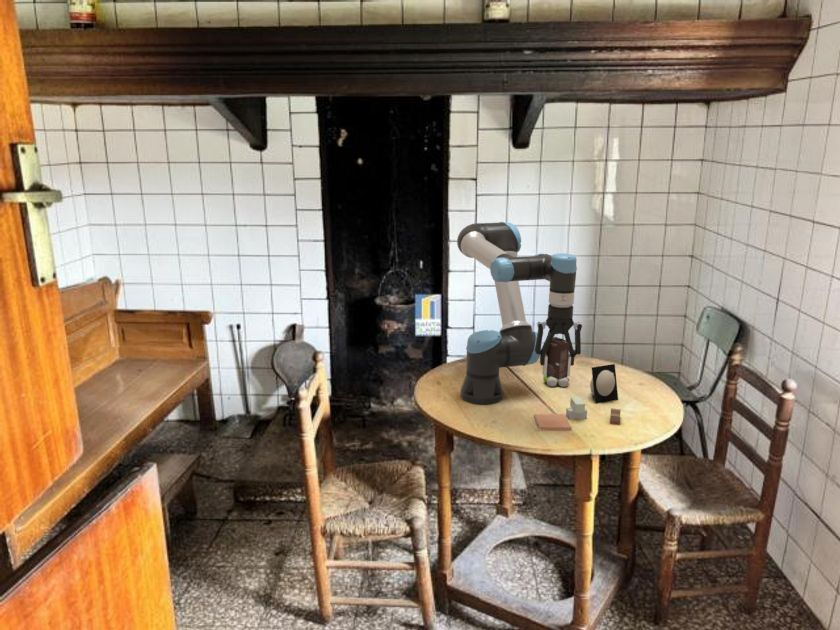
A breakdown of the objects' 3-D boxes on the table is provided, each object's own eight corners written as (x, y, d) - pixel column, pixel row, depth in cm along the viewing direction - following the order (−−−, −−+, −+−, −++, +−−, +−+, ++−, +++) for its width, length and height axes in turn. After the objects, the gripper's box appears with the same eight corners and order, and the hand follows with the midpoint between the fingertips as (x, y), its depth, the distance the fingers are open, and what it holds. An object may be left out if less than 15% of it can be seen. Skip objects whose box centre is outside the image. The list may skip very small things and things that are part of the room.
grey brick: (568, 419, 210) (569, 411, 209) (565, 415, 212) (566, 407, 212) (586, 418, 210) (587, 410, 209) (583, 415, 213) (583, 406, 212)
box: (543, 374, 203) (546, 338, 200) (553, 371, 206) (556, 336, 202) (558, 380, 198) (560, 343, 195) (568, 377, 201) (570, 341, 198)
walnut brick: (619, 425, 206) (620, 416, 205) (609, 423, 207) (610, 415, 206) (619, 417, 211) (620, 409, 210) (610, 416, 212) (611, 408, 211)
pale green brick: (584, 412, 208) (585, 404, 207) (575, 412, 208) (576, 404, 207) (578, 405, 213) (579, 397, 213) (570, 405, 213) (570, 397, 213)
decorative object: (582, 401, 229) (604, 398, 233) (600, 404, 219) (623, 400, 223) (578, 366, 229) (601, 363, 232) (596, 367, 219) (620, 364, 223)
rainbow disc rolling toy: (571, 388, 236) (572, 369, 234) (544, 388, 236) (546, 369, 234) (566, 380, 244) (567, 362, 242) (541, 379, 244) (542, 361, 243)
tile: (539, 429, 201) (539, 427, 201) (534, 416, 211) (534, 413, 211) (571, 430, 201) (571, 427, 201) (564, 417, 211) (564, 414, 211)
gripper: (531, 307, 192) (526, 378, 198) (596, 308, 192) (589, 379, 198) (527, 301, 199) (523, 370, 206) (589, 301, 199) (584, 370, 206)
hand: (555, 374), depth 202 cm, fingers closed on box, 7 cm apart
